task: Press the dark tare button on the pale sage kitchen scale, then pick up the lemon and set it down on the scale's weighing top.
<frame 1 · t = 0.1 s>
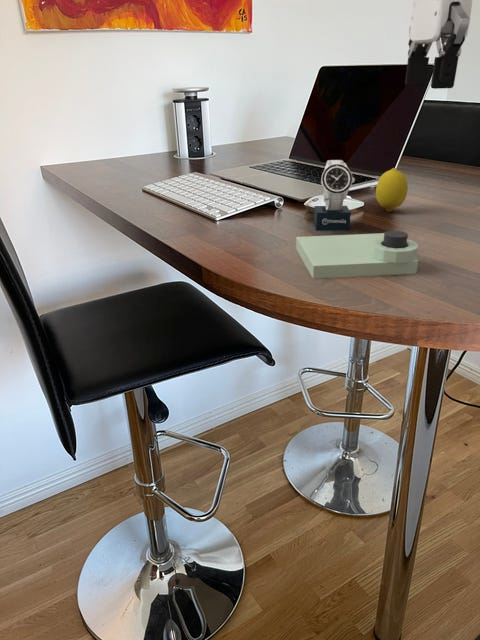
hand: (427, 86, 76), 22 cm above the table, tool pointing down, fingers open, 9 cm apart
scale: (352, 260, 71), on the table
tare button: (395, 240, 66), point 4 cm above the table, slide at 0.1 cm
watch: (331, 228, 85), on the table
lemon: (388, 212, 93), on the table
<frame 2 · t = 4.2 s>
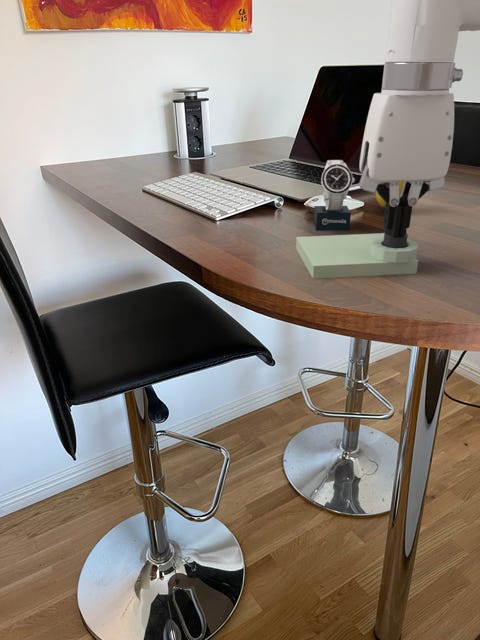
hand: (394, 233, 66), 5 cm above the table, tool pointing down, fingers closed
tare button: (395, 240, 66), point 4 cm above the table, slide at 0.1 cm, touching gripper
everything else where it was.
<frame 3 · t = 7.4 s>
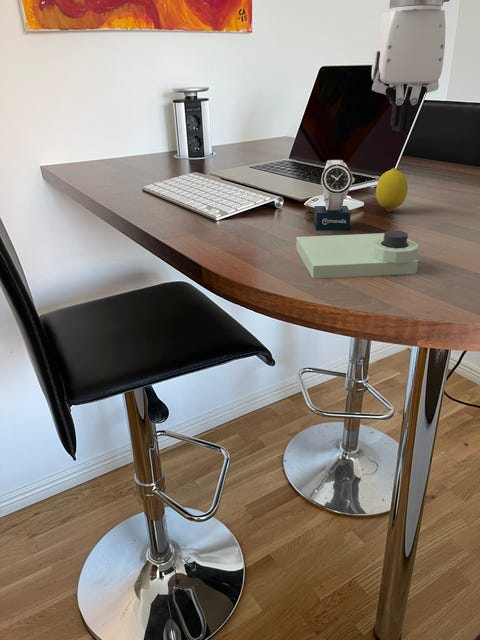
hand: (400, 130, 83), 15 cm above the table, tool pointing down, fingers closed
tare button: (395, 240, 66), point 4 cm above the table, slide at 0.1 cm
everything else where it was.
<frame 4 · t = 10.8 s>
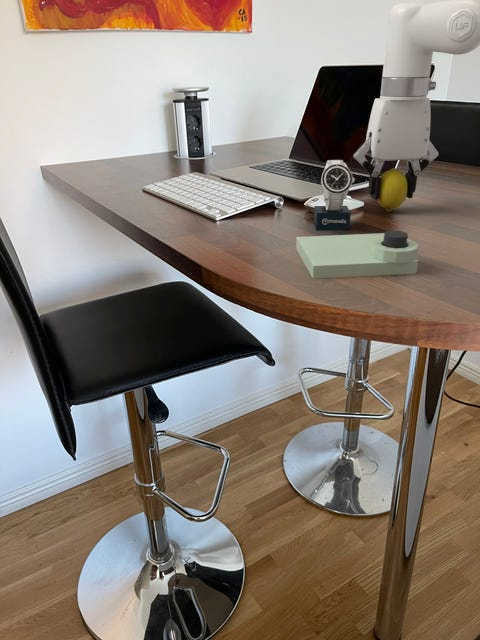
hand: (390, 196, 92), 3 cm above the table, tool pointing down, fingers closed on lemon, 5 cm apart
lemon: (388, 212, 93), on the table, touching gripper
everything else where it was.
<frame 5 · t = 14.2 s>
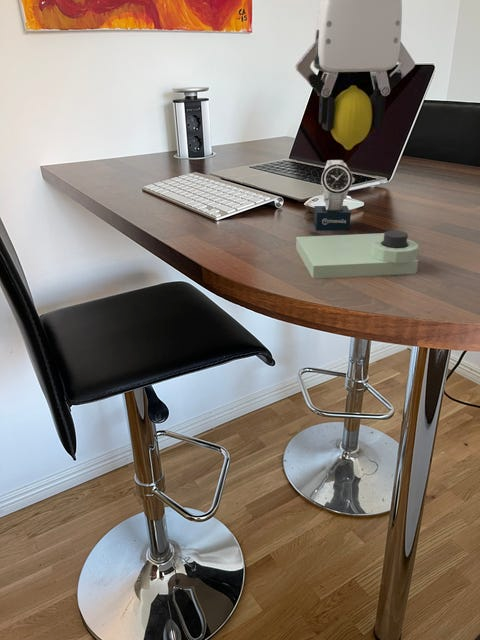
hand: (350, 127, 66), 17 cm above the table, tool pointing down, fingers closed on lemon, 5 cm apart
lemon: (348, 151, 68), point 14 cm above the table, touching gripper
everything else where it was.
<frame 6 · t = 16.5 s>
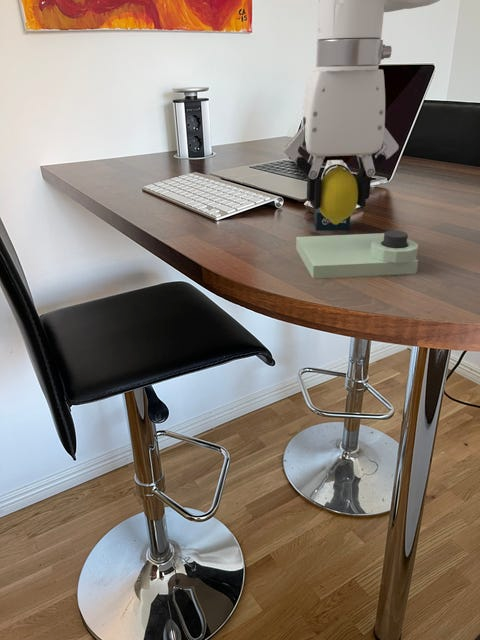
hand: (337, 204, 69), 8 cm above the table, tool pointing down, fingers closed on lemon, 5 cm apart
lemon: (335, 225, 70), point 5 cm above the table, touching gripper
everything else where it was.
when the fingers open (5 cm above the table, at t = 18.0 s): lemon stays where it is, resting on scale.
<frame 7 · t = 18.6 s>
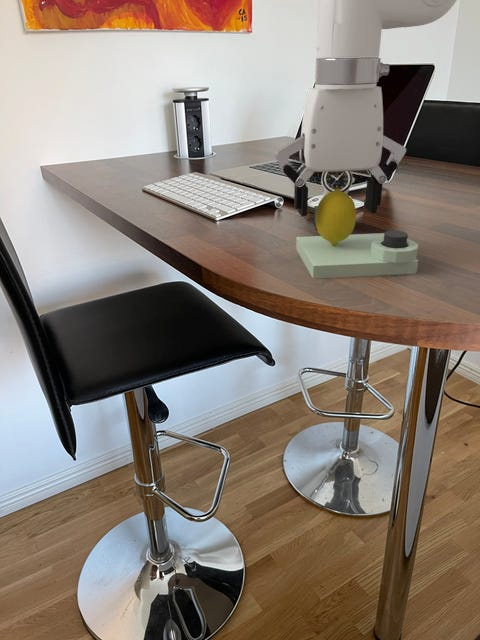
hand: (336, 212, 69), 7 cm above the table, tool pointing down, fingers open, 9 cm apart
lemon: (333, 246, 71), point 2 cm above the table, touching scale
everything else where it was.
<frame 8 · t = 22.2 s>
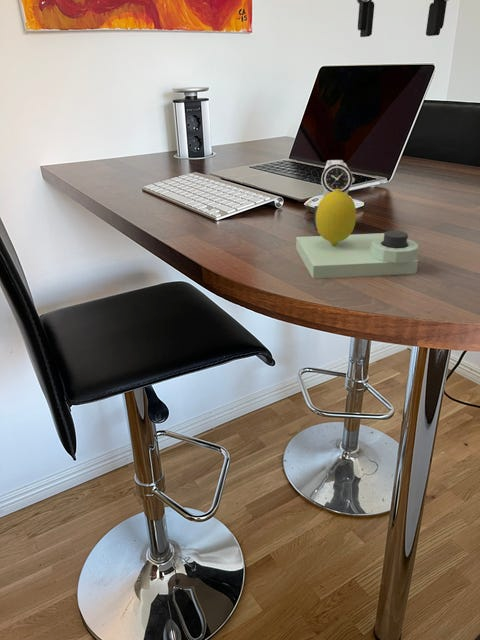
hand: (399, 36, 70), 28 cm above the table, tool pointing down, fingers open, 9 cm apart
nothing on the table moved.
at the end: tare button pushed in 0.9 cm at the most during the clip, back to where it started at the end; tare button slide at 0.1 cm; lemon inside the target area on the scale (2.8 cm from its centre), point 1.7 cm above the scale's base; lemon touching scale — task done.
